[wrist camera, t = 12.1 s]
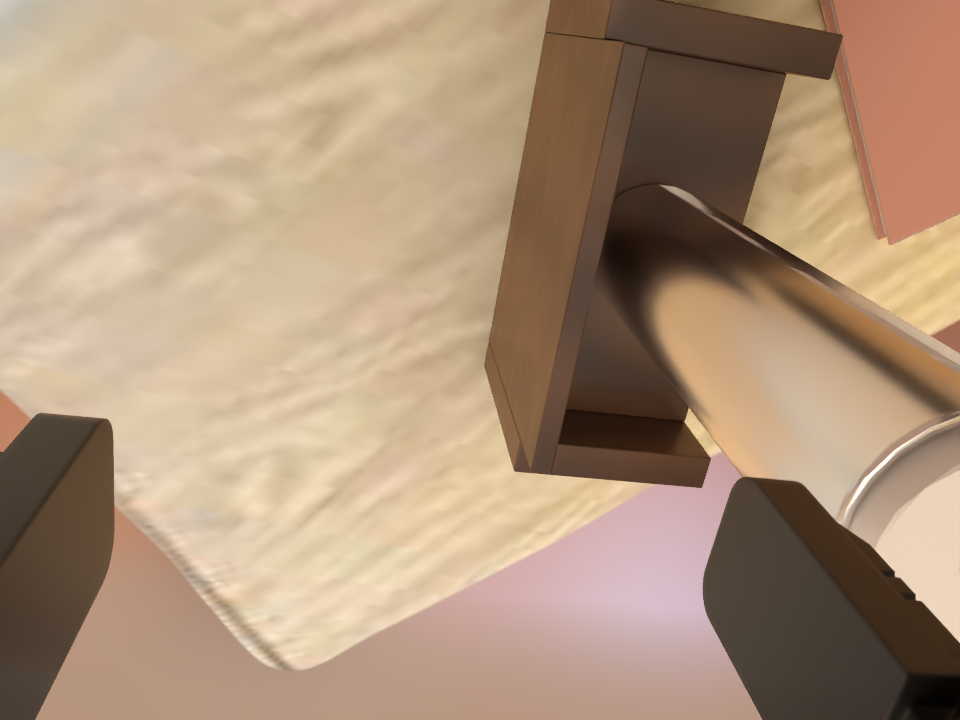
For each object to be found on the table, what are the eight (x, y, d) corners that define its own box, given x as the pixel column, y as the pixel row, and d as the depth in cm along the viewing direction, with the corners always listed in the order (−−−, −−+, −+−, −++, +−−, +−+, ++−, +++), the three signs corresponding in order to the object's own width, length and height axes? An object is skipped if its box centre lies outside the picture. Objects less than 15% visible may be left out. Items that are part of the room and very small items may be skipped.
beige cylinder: (737, 247, 41) (1188, 548, 18) (640, 333, 42) (944, 717, 19) (659, 154, 38) (1061, 363, 15) (559, 249, 40) (794, 570, 17)
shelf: (551, -4, 43) (635, -12, 29) (723, 29, 45) (885, 36, 30) (484, 366, 52) (523, 506, 37) (631, 382, 53) (724, 522, 39)
